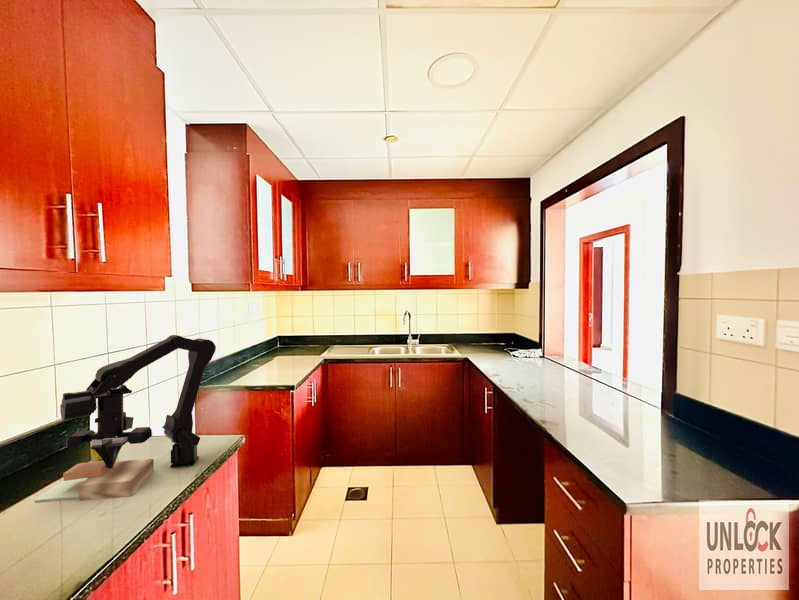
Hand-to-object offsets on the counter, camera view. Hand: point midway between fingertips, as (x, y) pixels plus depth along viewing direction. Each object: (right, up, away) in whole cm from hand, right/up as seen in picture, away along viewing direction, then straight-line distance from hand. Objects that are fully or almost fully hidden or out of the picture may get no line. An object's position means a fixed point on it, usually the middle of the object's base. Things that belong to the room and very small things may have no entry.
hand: (110, 467), depth 107 cm
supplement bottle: (-14, -5, +16) cm, 22 cm away
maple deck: (+2, -5, +1) cm, 5 cm away
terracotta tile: (-5, -1, -1) cm, 5 cm away
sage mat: (-9, -5, -2) cm, 11 cm away
